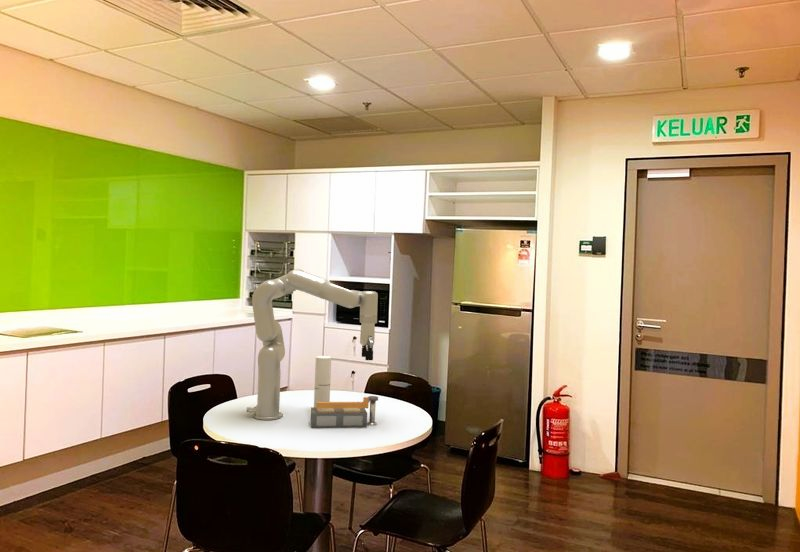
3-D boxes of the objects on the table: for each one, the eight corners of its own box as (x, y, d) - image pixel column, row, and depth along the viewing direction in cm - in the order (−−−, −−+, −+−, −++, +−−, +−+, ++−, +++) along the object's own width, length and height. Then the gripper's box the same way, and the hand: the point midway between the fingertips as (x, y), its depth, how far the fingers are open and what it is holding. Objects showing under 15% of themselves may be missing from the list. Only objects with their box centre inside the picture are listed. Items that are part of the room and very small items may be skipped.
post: (368, 425, 257) (368, 401, 257) (366, 422, 261) (367, 399, 261) (377, 425, 258) (378, 401, 258) (375, 422, 262) (376, 399, 262)
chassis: (311, 428, 249) (312, 413, 248) (310, 421, 260) (310, 406, 260) (366, 427, 253) (367, 412, 253) (363, 420, 264) (363, 406, 264)
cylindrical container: (326, 413, 275) (328, 358, 274) (311, 412, 276) (313, 357, 276) (331, 410, 282) (333, 356, 281) (316, 408, 283) (318, 355, 283)
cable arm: (316, 409, 252) (317, 398, 252) (316, 406, 257) (316, 396, 257) (378, 408, 257) (378, 398, 257) (376, 406, 262) (377, 396, 262)
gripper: (356, 317, 272) (355, 355, 272) (363, 321, 255) (361, 361, 255) (373, 317, 273) (371, 355, 273) (380, 321, 256) (379, 361, 257)
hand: (367, 358), depth 264 cm, fingers open, 9 cm apart
